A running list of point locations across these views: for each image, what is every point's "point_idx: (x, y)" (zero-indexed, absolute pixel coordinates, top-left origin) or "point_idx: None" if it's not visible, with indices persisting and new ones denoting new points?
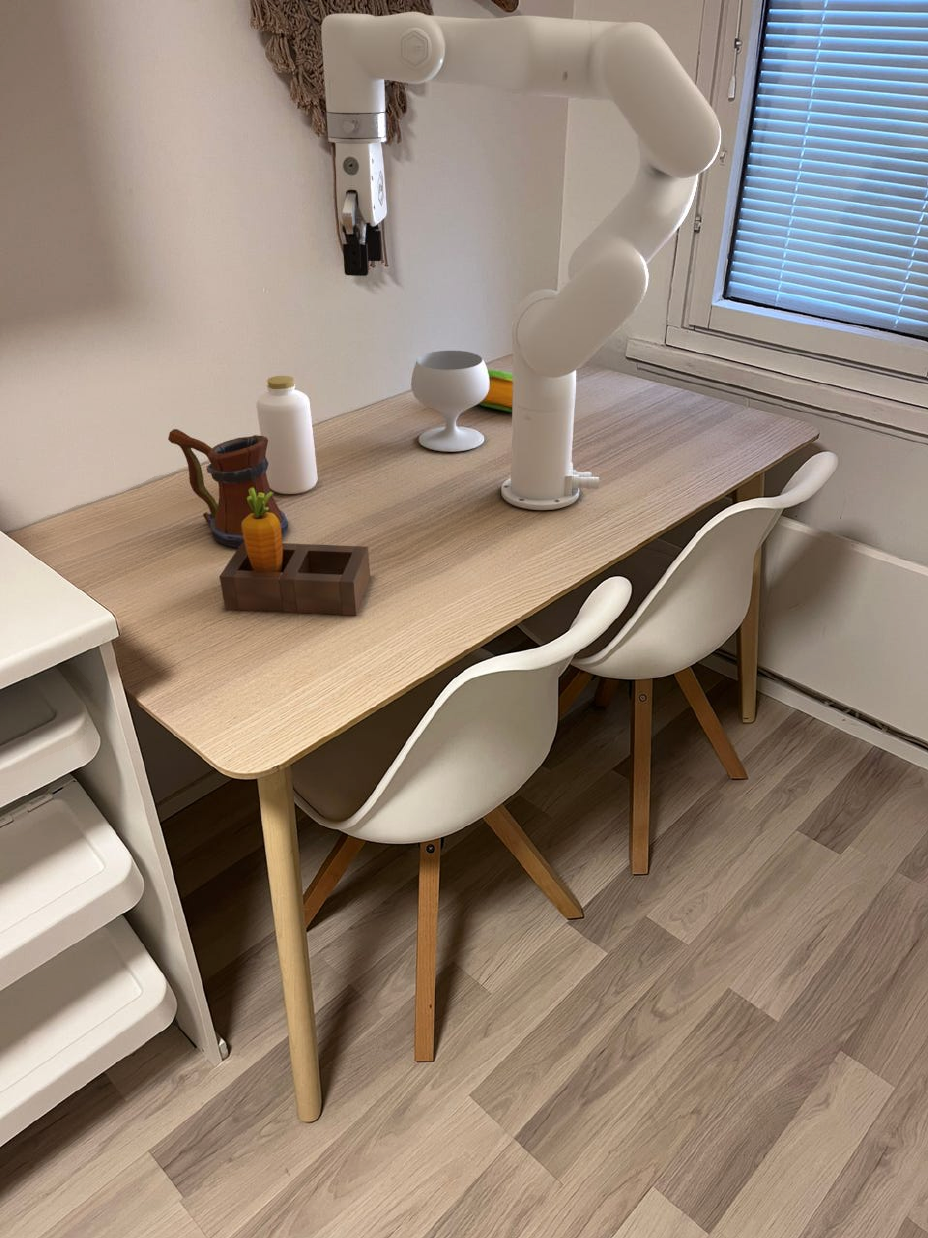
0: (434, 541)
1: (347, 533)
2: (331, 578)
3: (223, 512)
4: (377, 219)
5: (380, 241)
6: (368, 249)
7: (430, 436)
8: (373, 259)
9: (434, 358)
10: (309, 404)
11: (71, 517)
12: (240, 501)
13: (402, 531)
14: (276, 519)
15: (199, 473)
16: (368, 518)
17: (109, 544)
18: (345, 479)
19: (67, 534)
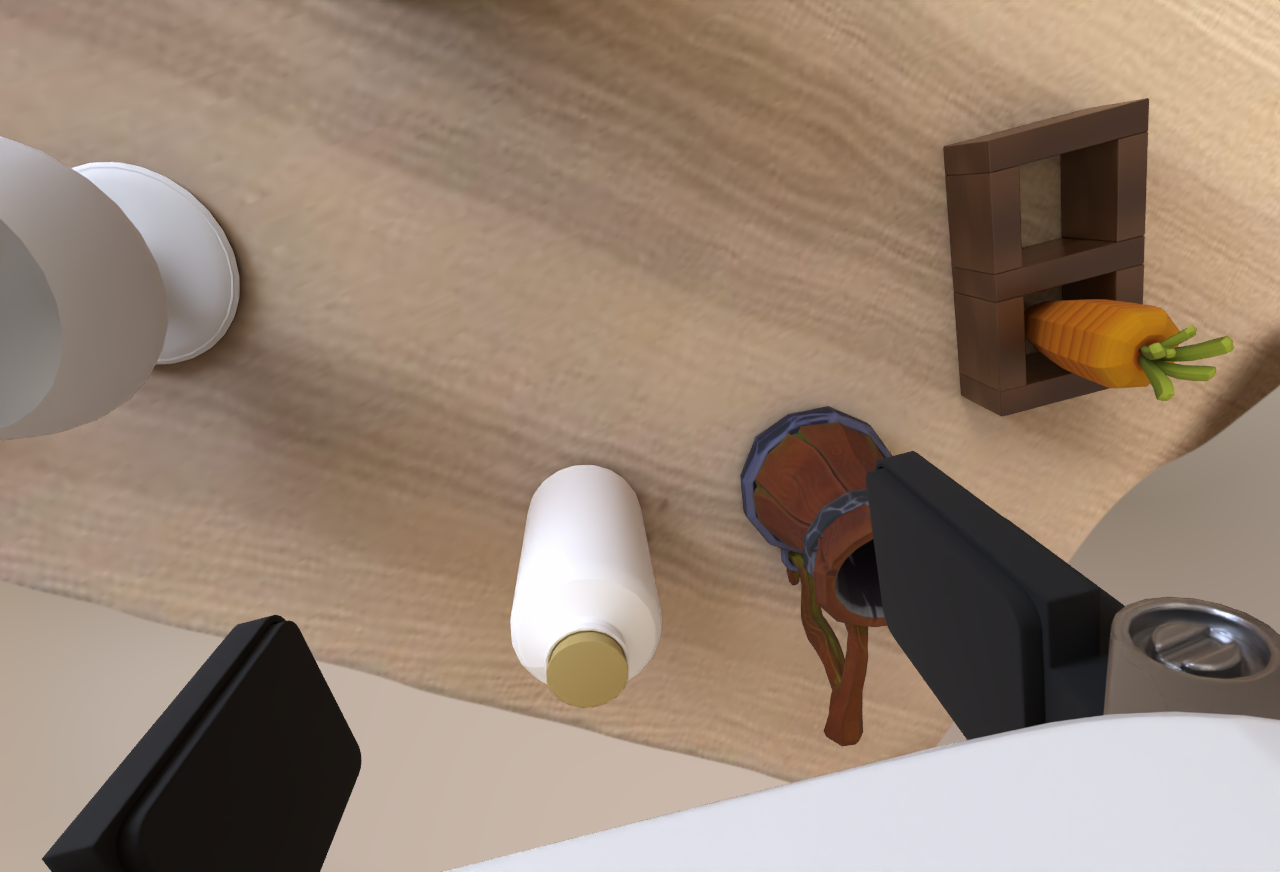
0: (748, 68)
1: (763, 290)
2: (1135, 155)
3: None
4: (1081, 800)
5: (177, 738)
6: (295, 771)
7: (171, 326)
8: (316, 668)
9: None
10: (555, 565)
11: (828, 768)
12: None
13: (720, 170)
14: (1141, 316)
15: (828, 631)
16: (681, 278)
17: (903, 661)
18: (507, 424)
19: (885, 736)
